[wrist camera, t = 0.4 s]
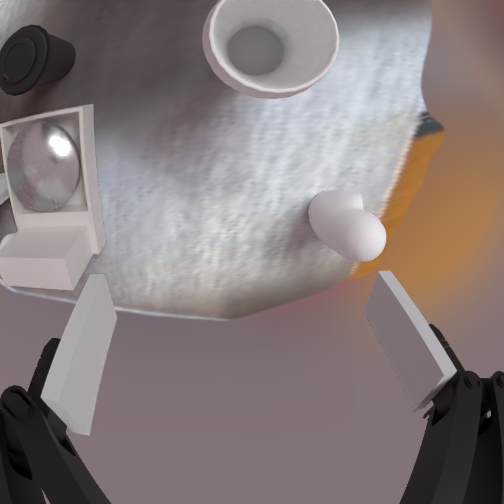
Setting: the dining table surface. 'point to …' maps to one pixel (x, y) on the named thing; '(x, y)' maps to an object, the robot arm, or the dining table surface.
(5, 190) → the photo printer
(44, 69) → the coffee cup
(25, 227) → the base
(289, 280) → the dining table surface
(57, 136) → the pan
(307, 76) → the cup
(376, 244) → the figurine
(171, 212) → the dining table surface
